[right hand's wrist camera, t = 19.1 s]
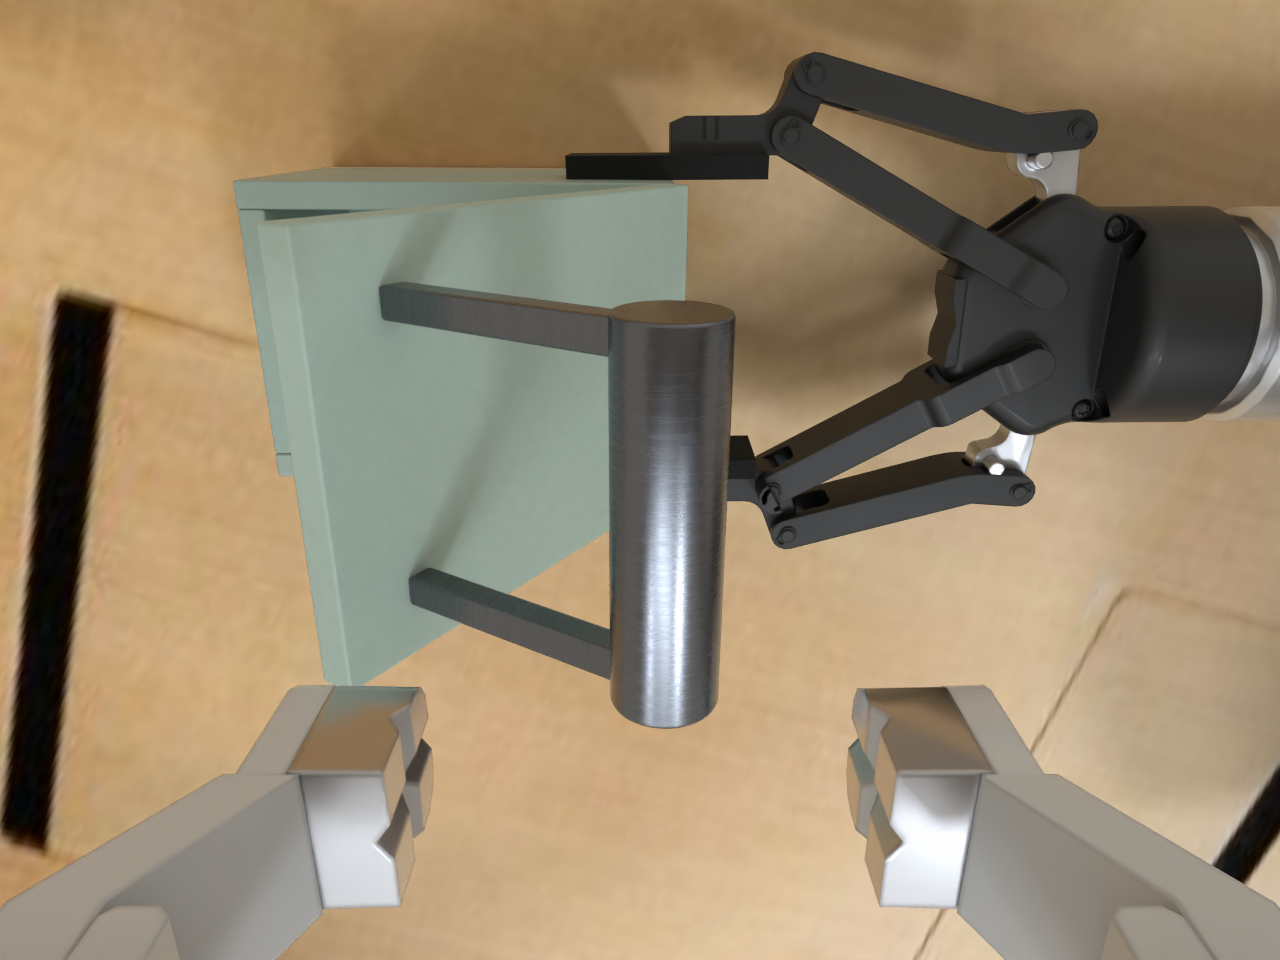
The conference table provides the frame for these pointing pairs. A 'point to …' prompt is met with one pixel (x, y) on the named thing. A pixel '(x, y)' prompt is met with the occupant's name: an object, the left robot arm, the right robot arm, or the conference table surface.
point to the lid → (509, 431)
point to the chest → (361, 194)
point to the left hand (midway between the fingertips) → (574, 321)
